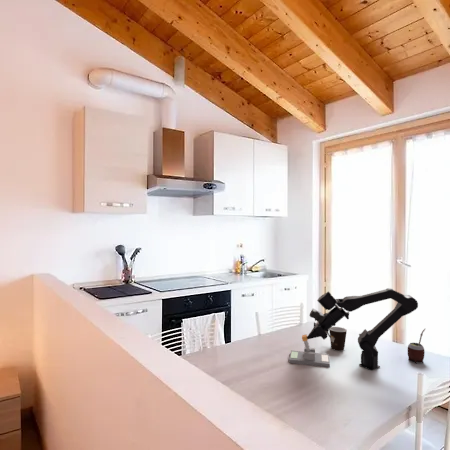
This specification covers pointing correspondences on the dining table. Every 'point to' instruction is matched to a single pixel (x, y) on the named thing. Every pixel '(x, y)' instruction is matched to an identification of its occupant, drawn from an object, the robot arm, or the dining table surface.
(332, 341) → the coffee mug
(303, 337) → the lever
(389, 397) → the dining table surface
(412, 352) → the mate gourd
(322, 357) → the switch panel
